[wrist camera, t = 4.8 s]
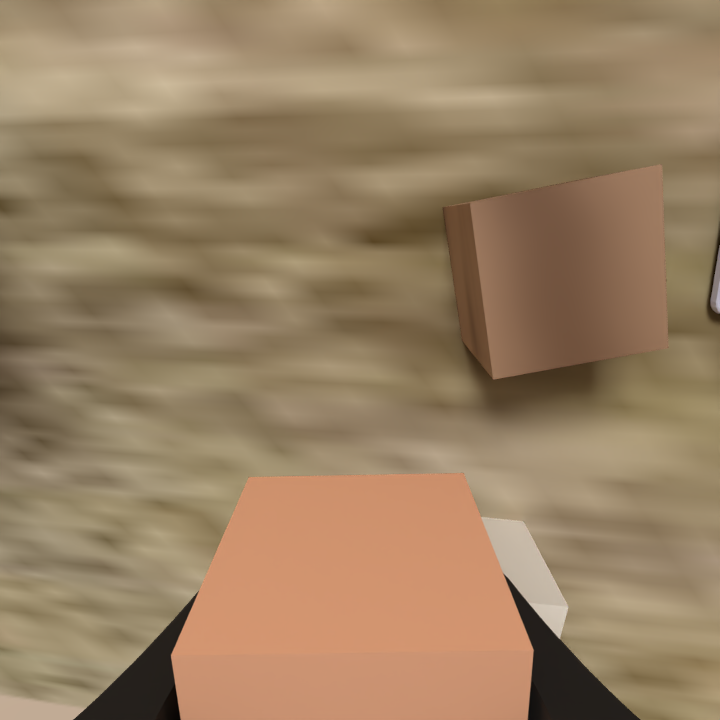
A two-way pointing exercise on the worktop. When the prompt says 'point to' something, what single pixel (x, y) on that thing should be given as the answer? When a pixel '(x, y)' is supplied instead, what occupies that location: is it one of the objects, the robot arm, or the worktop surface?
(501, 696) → the terracotta cube
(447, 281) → the worktop surface
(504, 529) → the beige cube
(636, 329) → the walnut cube
